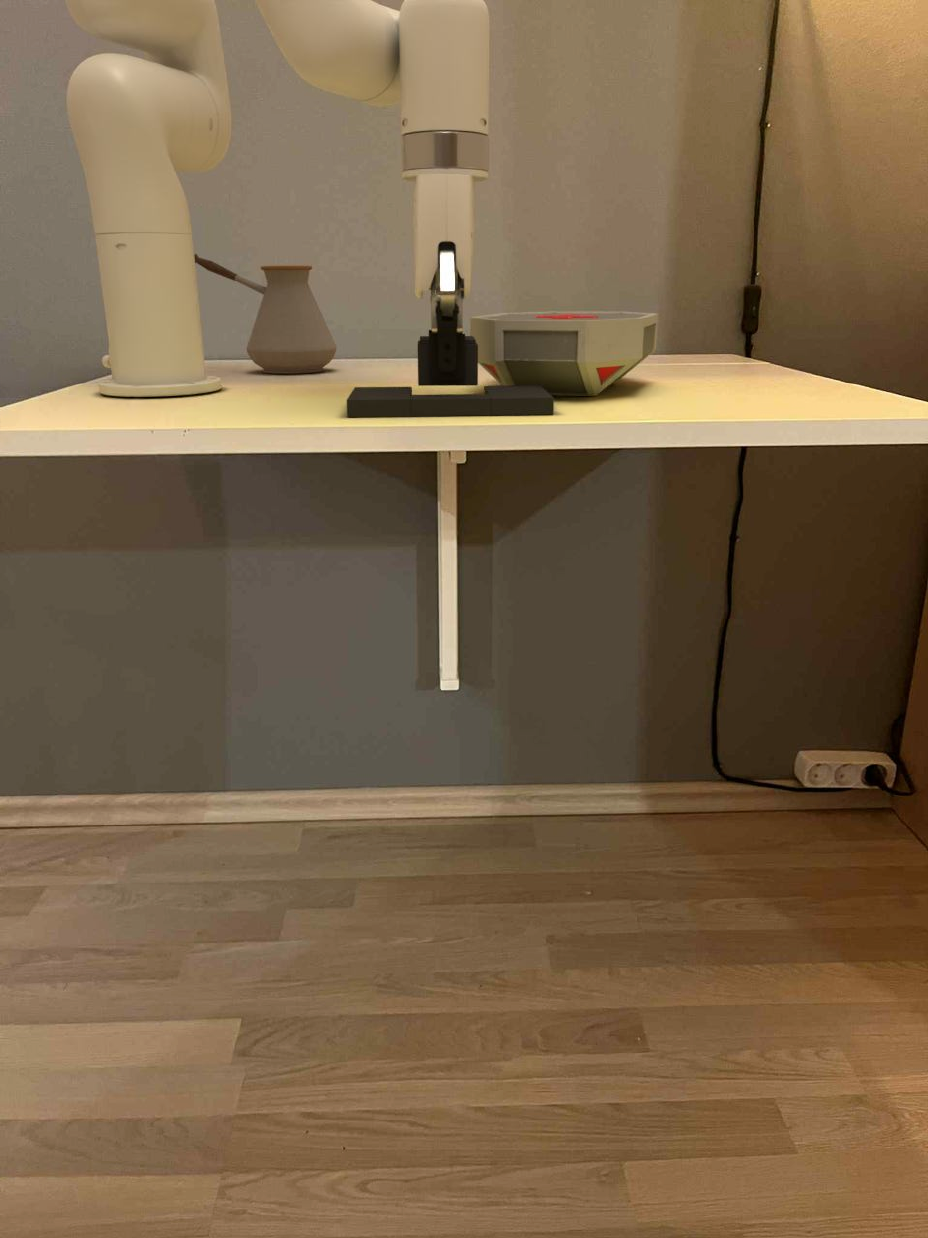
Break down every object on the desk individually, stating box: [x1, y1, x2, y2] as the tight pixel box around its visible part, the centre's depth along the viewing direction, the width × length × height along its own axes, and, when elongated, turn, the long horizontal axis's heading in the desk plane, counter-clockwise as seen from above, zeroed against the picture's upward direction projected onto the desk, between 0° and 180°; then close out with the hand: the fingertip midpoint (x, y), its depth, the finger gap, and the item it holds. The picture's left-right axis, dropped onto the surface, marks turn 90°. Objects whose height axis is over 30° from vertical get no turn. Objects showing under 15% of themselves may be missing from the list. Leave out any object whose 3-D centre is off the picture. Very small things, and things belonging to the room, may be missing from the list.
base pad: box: [346, 385, 555, 418], centre depth 87 cm, size 18×10×2 cm, turn 92°
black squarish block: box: [417, 335, 479, 387], centre depth 88 cm, size 5×5×4 cm
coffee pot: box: [194, 253, 338, 375], centre depth 122 cm, size 21×12×15 cm, turn 74°
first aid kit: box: [469, 311, 659, 397], centre depth 101 cm, size 18×8×25 cm
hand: (446, 374), depth 88 cm, fingers closed on black squarish block, 5 cm apart
